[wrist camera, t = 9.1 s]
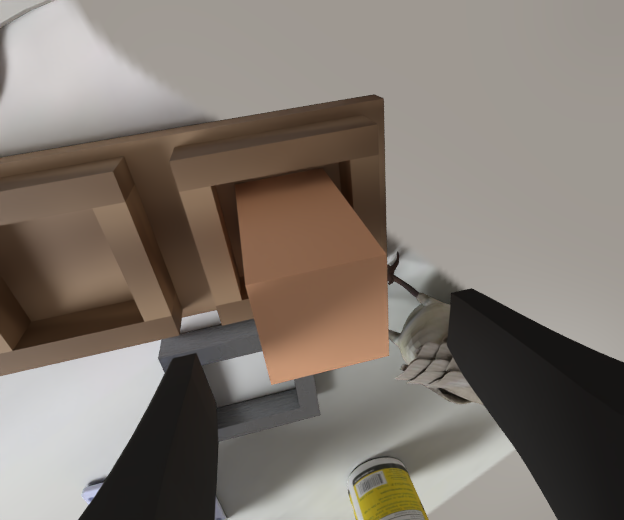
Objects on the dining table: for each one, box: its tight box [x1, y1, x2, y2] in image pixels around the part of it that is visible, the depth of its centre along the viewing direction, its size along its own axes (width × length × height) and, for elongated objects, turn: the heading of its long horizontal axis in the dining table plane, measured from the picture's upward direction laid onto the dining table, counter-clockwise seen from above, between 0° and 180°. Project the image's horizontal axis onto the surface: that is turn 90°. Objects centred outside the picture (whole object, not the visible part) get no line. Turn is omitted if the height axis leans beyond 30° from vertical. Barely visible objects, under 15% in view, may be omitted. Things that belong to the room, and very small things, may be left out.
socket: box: [158, 319, 320, 442], centre depth 24 cm, size 8×8×2 cm
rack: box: [0, 95, 387, 376], centre depth 18 cm, size 9×20×3 cm, turn 97°
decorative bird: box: [387, 251, 483, 405], centre depth 23 cm, size 5×16×7 cm, turn 57°
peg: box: [235, 168, 389, 385], centre depth 15 cm, size 4×4×8 cm
